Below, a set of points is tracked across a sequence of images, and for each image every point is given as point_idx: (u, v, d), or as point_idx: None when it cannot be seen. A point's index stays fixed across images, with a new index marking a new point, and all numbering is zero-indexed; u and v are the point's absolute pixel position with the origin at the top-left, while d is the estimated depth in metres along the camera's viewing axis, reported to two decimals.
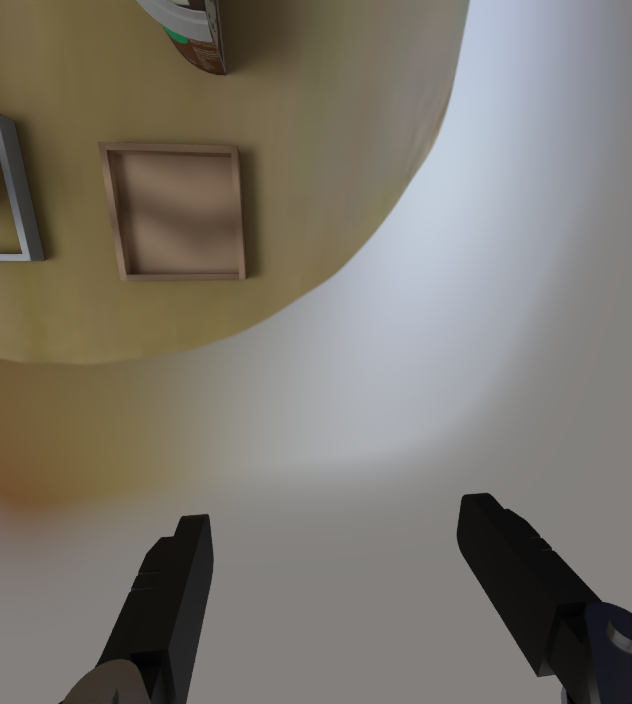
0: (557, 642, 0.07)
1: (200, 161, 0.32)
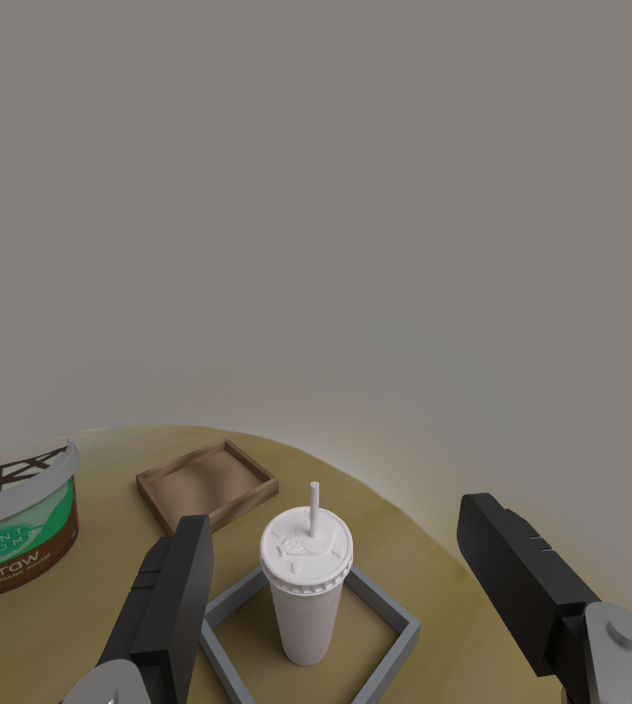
0: (557, 642, 0.07)
1: (157, 497, 0.39)
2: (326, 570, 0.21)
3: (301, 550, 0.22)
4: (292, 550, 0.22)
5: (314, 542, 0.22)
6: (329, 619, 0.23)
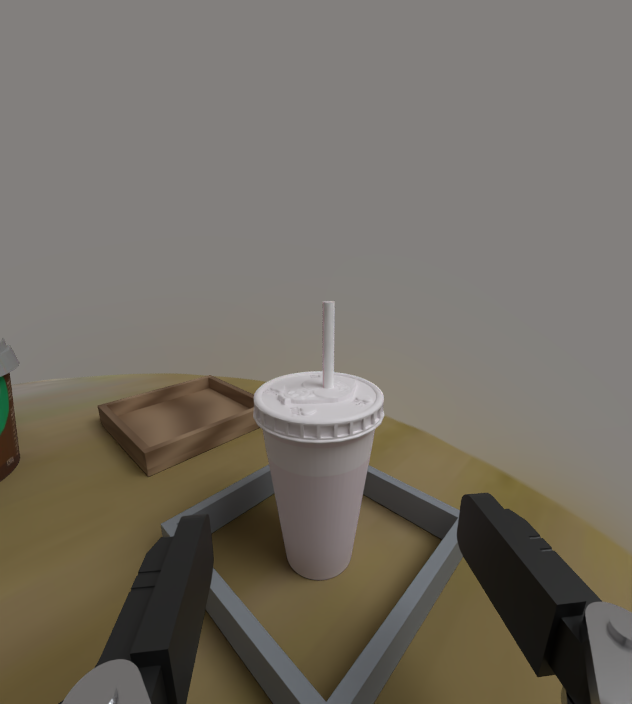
0: (557, 642, 0.07)
1: None
2: (351, 412, 0.14)
3: (312, 397, 0.15)
4: (299, 397, 0.15)
5: (329, 391, 0.16)
6: (354, 501, 0.16)
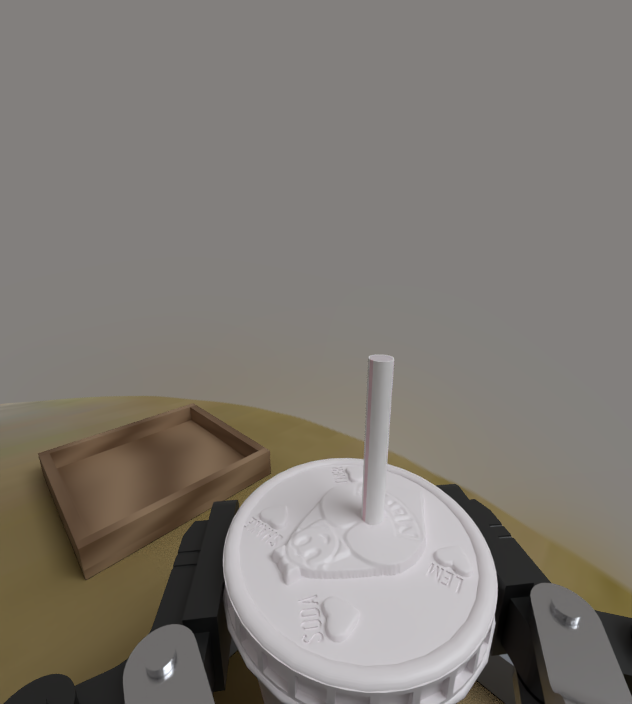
0: (507, 621, 0.08)
1: (69, 485, 0.23)
2: (441, 623, 0.06)
3: (346, 560, 0.07)
4: (319, 561, 0.07)
5: (379, 535, 0.08)
6: None
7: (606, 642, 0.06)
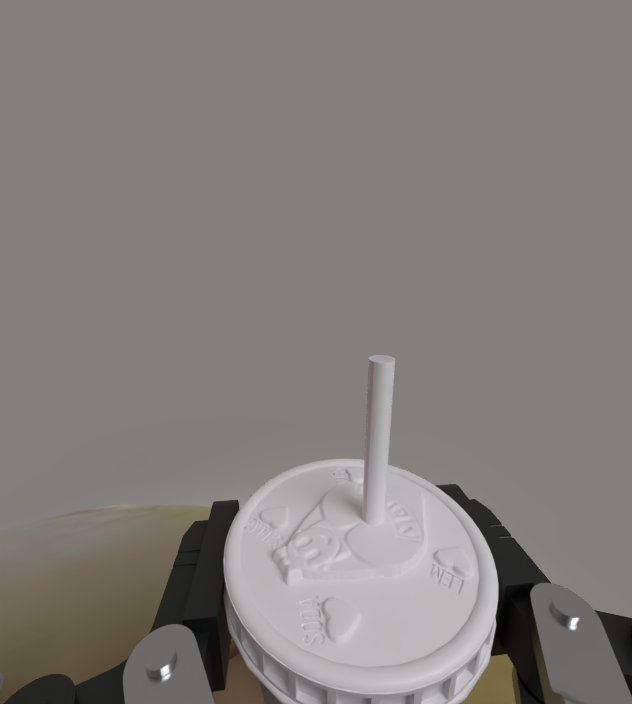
0: (507, 621, 0.08)
1: None
2: (442, 625, 0.06)
3: (347, 561, 0.07)
4: (320, 562, 0.07)
5: (379, 536, 0.08)
6: None
7: (606, 642, 0.06)
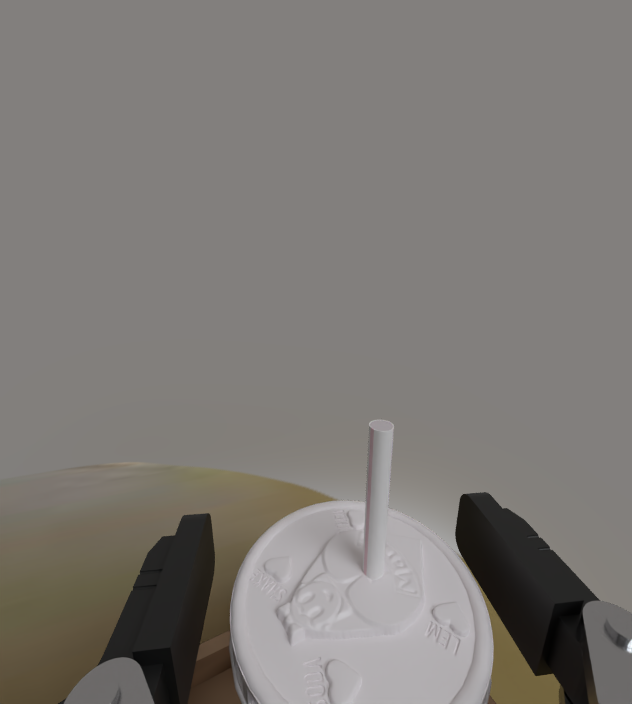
0: (554, 641, 0.07)
1: None
2: (439, 690, 0.06)
3: (348, 619, 0.08)
4: (322, 621, 0.07)
5: (379, 591, 0.08)
6: None
7: None
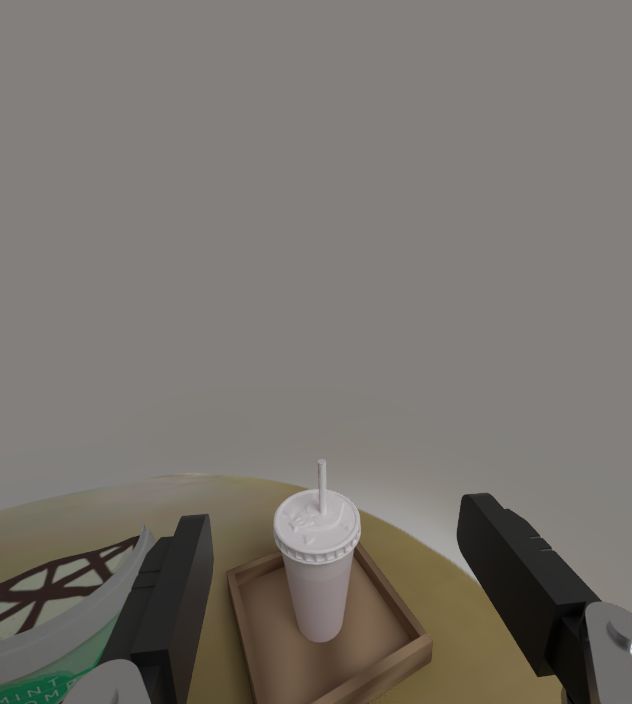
0: (557, 642, 0.07)
1: (249, 616, 0.27)
2: (336, 540, 0.22)
3: (312, 525, 0.23)
4: (304, 525, 0.23)
5: (324, 517, 0.24)
6: (342, 591, 0.24)
7: None
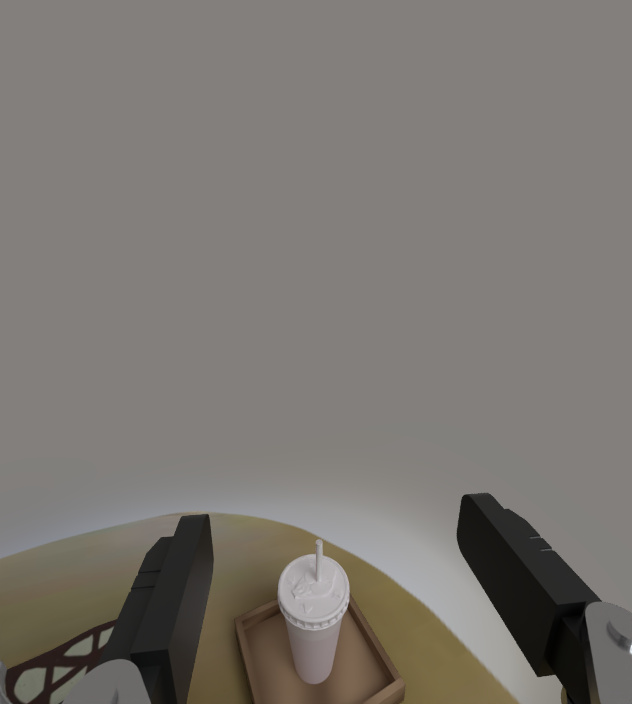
0: (557, 642, 0.07)
1: (254, 660, 0.32)
2: (330, 609, 0.27)
3: (310, 593, 0.28)
4: (303, 594, 0.28)
5: (319, 586, 0.29)
6: (333, 645, 0.29)
7: None
